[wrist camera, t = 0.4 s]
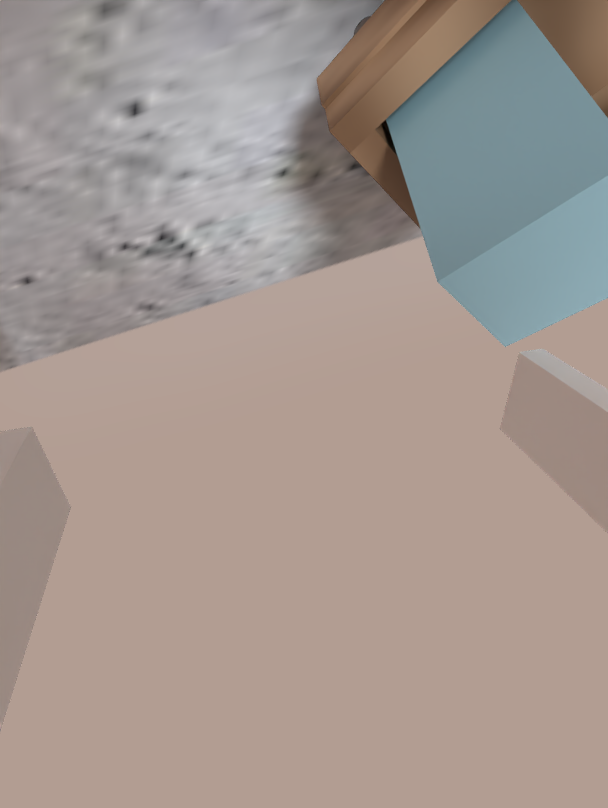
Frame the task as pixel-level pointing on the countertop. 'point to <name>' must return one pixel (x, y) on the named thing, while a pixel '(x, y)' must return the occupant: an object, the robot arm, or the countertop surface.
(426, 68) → the long brown tray
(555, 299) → the block
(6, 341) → the countertop surface
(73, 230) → the countertop surface
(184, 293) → the countertop surface
